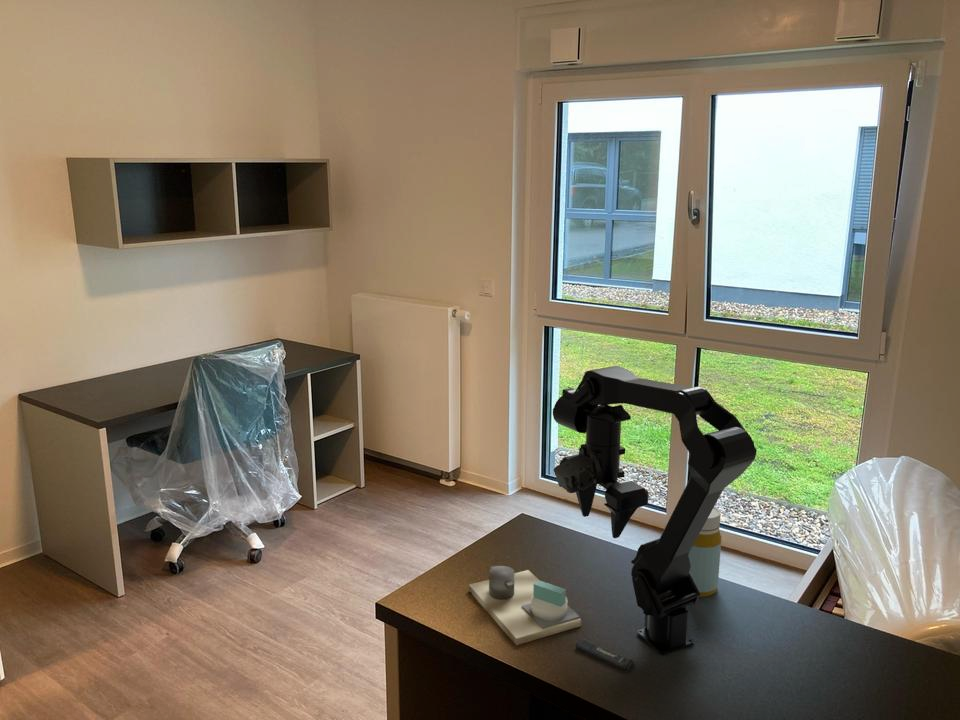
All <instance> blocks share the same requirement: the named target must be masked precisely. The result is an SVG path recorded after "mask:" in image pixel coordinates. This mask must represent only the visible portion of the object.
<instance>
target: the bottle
mask: <svg viewBox="0 0 960 720" xmlns="http://www.w3.org/2000/svg"><path fill="white" fill-rule="evenodd" d="M721 517H722V516H721V510H719V508H717V507H716V506H714V508H713V510H712V511H711V513H710V515H709V517H708V519H707V521H706V522H705V524H704V526H703V528H702V530H701V532H700V533H699V535H698V537H697V539H696V541H695V543H694V544H693V546H692V548H691V550H690V552H689V558H690V562H691V567H690V571H689V574H690V575H691V577H692V579H693V581H694V583H695V585H696V587H697V589H698V590H699V592H700V597H699V598H709V597H710V596H713V595H714V594H715V593H716V592H717V591H718V589H719V576H720V575H719V574H720V565H721V563H720V562H721V549H722V535H721V532H720V526H721V525H720V524H721Z"/></svg>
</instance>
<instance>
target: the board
mask: <svg viewBox="0 0 960 720" xmlns="http://www.w3.org/2000/svg"><path fill="white" fill-rule="evenodd" d="M538 580H539V579H538V578H537V576H535V574H533V573H532V572H531V571H530V570H529V569H526V570H523V571H519V572H515V570H514V569H513V568H512V567H510V566H508V565H507V566H506V565H492V566H490V568H489V571H488V579H487V580H482V581H479V582H475V583H470V584H468V592H469V593H470V592H471V593H472V594H471V593H470V594H471V595H472V596H473V598H474V599H476V601H477V602H478V604H480V605H481V606H482V608H483V609H484V610H485V611H486V613H488V614H489V616H490V617H491V618H492V619H493V620H494V621H495V622H496V624H497V625H498V626H499V627H500V628H501V630H502V631H503V632H504V633H505V634H506V635H507V637H509V638H510V640H511V641H512V642H513V643H514V644H515V645H516V646H519V645H521V644H525V643H528V642H532V641H535V640H539V639H542V638H545V637H549V636H551V635H555V634H559V633H562V632H566V631H568V630H572V629H575V628H579V627H581V626H582V619H581V617H580V616H579V614H578V613H577V612H575V610H574V609H572V608H571V607H570V606H569V605H568V604H567V614H566V616H565V617H563V618H561V619H559V620H554V621H547V620H542V619H539V618H537V617H535V616H534V615H533V614H532V612H531V598H532V596H533V589H534V583H536V582H537V581H538Z"/></svg>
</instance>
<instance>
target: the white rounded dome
mask: <svg viewBox="0 0 960 720" xmlns="http://www.w3.org/2000/svg"><path fill="white" fill-rule="evenodd" d="M566 595H567V590H566V588H563V587H561V586H557V585H554V584H551V583H548V582H546V581H542V580H540V579H538V581H537V582H536V583H534V589H533V596H532V598H531V612H532V614H533V615H534V616H535V617H537V618H539V619H542V620H547V621H554V620H559V619H561V618H563V617H565V616H566V614H567V605H568V602H569V601H568V597H567V596H566Z"/></svg>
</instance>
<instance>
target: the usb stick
mask: <svg viewBox="0 0 960 720" xmlns="http://www.w3.org/2000/svg"><path fill="white" fill-rule="evenodd" d="M575 649H576V651H579V652H581V653H583V654H585V655H587V656H588V657H592V658H593V659H595V660H598V661H600V662H602V663H605V664H607V665H609V666H612V667H613V668H615V669H618V670H620V671H623V672H625V673H626V672H627V673H628V672H629V673H630V672H631V670H633V669H634V668H635V664H636V663H635V661H634V660H633V659H632V658H630V657H627V656H625V655H623V654H621V653H619V652H616V651H614V650H611V649H610V648H607V647H604V646H602V645H600V644H598V643H595V642H594V641H591V640H589V639H586V638H584V637H582V638H581V639H579V640H578V641H577V642H576V644H575Z"/></svg>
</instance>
